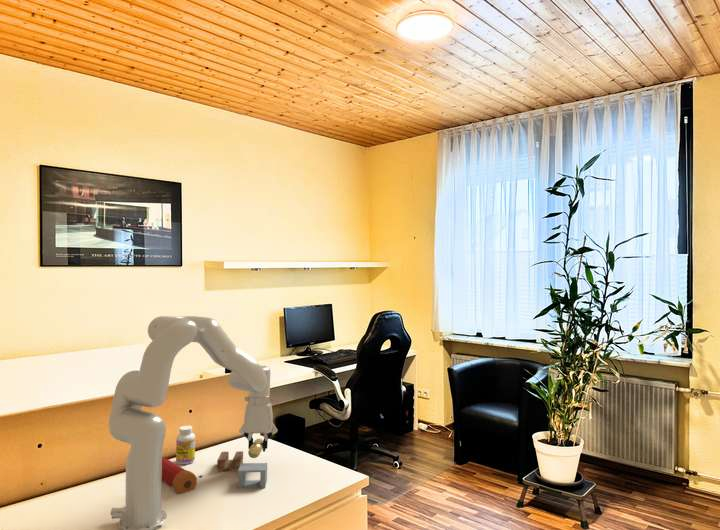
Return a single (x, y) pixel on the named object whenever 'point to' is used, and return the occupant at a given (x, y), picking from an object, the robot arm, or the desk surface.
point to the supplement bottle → (185, 445)
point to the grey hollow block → (252, 468)
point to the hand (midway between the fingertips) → (257, 450)
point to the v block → (229, 462)
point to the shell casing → (178, 477)
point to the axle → (256, 448)
